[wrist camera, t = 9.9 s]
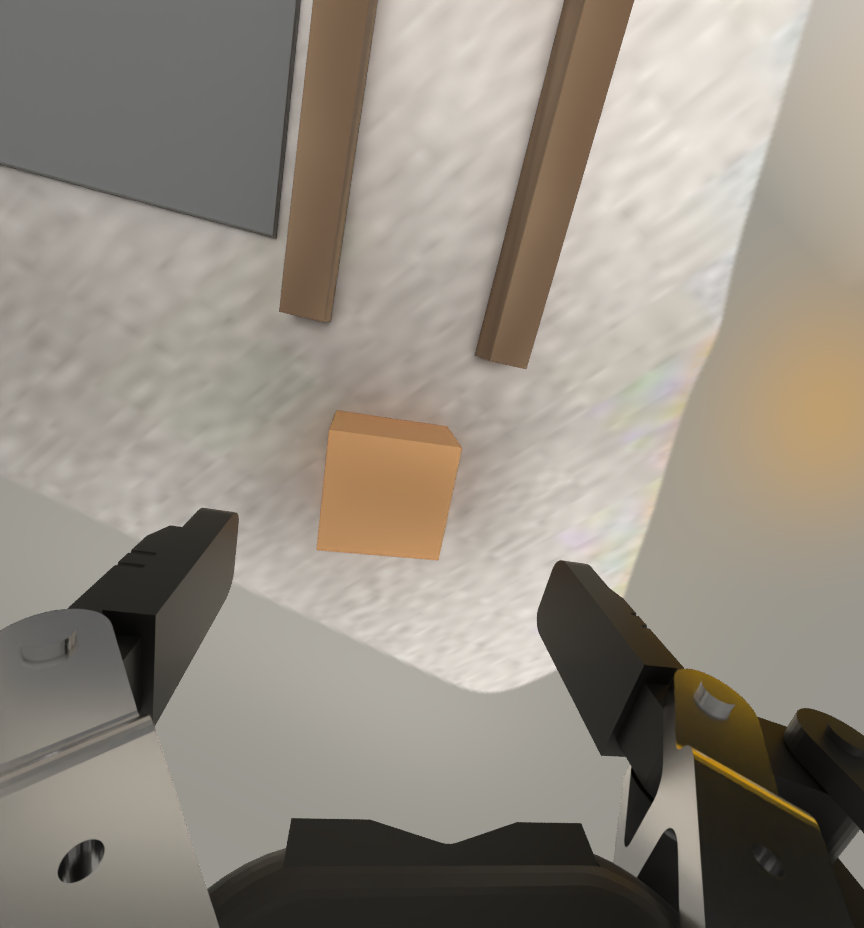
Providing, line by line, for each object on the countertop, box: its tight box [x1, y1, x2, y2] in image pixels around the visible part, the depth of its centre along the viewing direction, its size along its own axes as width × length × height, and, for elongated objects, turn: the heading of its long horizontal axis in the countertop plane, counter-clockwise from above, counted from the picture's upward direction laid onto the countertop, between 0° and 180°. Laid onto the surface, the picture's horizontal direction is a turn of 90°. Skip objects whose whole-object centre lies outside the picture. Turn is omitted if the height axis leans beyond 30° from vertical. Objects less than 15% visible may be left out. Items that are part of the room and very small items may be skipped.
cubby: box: [279, 0, 634, 369], centre depth 14 cm, size 9×14×2 cm, turn 167°
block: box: [317, 411, 462, 560], centre depth 18 cm, size 5×5×4 cm
